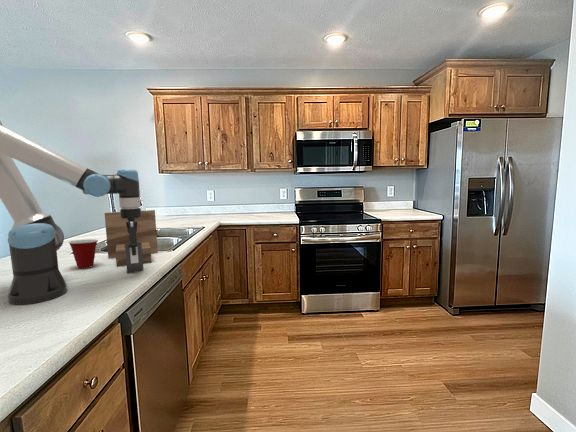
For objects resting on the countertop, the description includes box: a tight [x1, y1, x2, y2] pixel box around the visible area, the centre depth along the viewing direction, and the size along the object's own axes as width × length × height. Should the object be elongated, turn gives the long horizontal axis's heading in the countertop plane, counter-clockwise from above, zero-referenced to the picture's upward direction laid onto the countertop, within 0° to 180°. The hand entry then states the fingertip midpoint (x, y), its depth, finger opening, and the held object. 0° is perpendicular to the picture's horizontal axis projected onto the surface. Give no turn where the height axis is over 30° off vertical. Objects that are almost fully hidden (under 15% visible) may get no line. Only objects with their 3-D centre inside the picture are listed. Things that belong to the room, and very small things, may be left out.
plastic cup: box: [68, 238, 99, 270], centre depth 134 cm, size 11×11×12 cm
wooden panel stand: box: [104, 209, 158, 268], centre depth 145 cm, size 20×22×22 cm
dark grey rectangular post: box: [125, 242, 144, 274], centre depth 127 cm, size 3×6×12 cm, turn 118°
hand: (134, 259), depth 127 cm, fingers open, 13 cm apart
